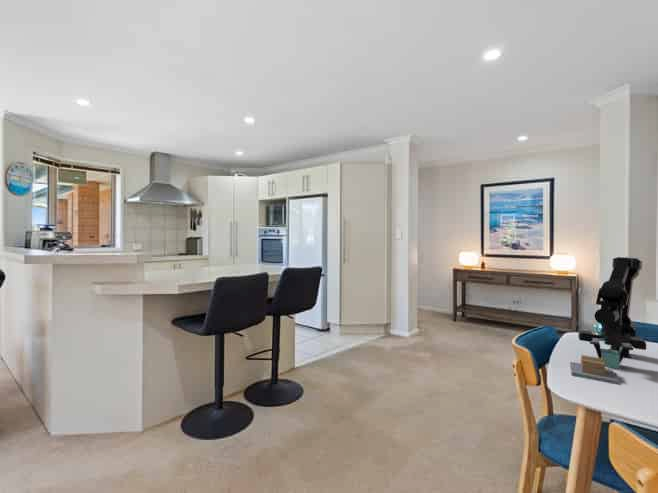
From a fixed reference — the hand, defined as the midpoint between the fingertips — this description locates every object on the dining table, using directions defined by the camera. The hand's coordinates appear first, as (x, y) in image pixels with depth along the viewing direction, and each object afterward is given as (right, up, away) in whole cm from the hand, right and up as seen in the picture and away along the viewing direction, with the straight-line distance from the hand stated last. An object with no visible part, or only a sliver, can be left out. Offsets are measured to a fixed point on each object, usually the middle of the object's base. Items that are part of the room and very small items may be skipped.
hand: (609, 362), depth 125 cm
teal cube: (0, -1, 0) cm, 1 cm away
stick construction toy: (+20, 0, +29) cm, 35 cm away
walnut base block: (-12, -1, -8) cm, 14 cm away
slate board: (-12, -1, -8) cm, 14 cm away
